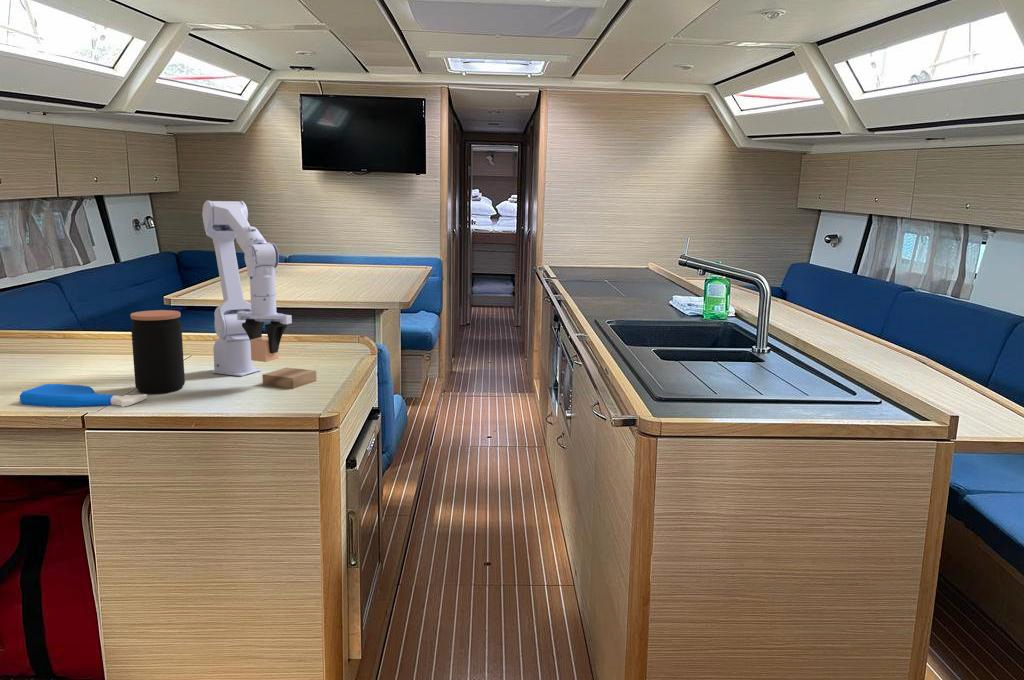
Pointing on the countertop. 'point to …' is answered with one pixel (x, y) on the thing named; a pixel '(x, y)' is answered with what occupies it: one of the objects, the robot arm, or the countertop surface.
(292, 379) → the walnut box
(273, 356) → the peach block
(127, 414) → the countertop surface
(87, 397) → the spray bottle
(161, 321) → the coffee jar
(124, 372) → the countertop surface
